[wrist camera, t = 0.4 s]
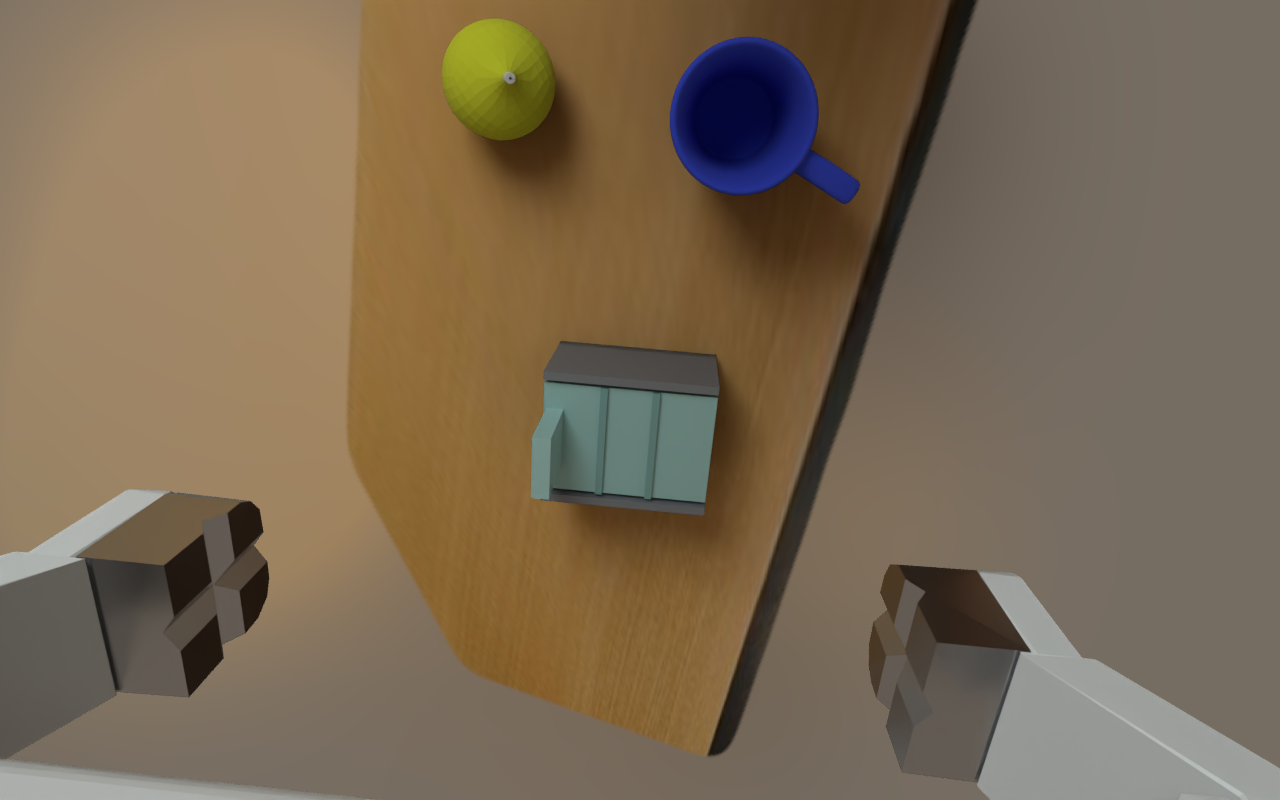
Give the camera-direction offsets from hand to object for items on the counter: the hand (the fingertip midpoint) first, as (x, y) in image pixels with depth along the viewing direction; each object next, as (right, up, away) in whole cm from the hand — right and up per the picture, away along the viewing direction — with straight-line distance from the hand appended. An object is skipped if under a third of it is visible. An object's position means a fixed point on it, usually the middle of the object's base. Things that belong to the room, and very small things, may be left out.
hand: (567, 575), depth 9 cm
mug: (+9, +21, +40) cm, 46 cm away
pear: (-8, +24, +40) cm, 47 cm away
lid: (0, -1, +42) cm, 42 cm away
